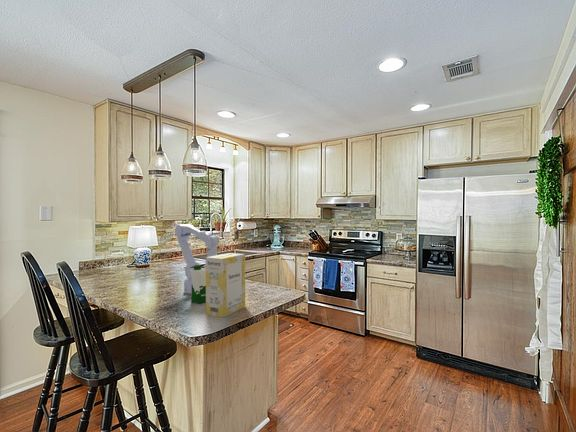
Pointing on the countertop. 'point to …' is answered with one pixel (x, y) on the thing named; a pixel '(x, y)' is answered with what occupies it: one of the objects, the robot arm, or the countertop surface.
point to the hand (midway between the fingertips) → (212, 278)
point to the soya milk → (198, 284)
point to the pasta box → (225, 284)
